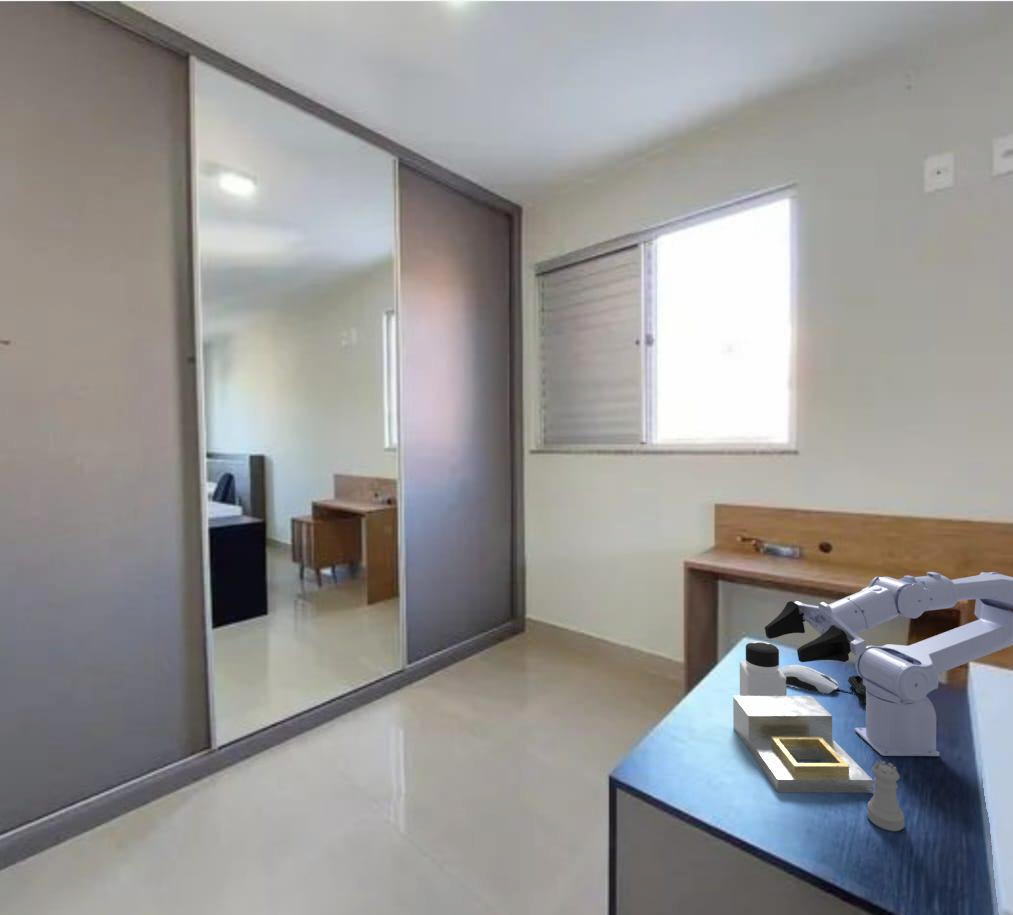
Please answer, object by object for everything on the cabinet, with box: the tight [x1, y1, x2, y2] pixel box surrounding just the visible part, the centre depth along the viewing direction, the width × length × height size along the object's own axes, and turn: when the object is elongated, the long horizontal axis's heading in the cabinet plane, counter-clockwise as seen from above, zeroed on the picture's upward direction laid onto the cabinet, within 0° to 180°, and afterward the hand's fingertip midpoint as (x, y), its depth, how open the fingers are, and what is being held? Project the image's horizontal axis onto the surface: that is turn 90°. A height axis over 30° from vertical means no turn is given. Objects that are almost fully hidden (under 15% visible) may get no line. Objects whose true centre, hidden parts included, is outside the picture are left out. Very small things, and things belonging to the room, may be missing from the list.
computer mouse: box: [780, 664, 866, 706], centre depth 115 cm, size 10×18×4 cm, turn 58°
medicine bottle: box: [739, 640, 787, 696], centre depth 108 cm, size 7×7×12 cm
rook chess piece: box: [865, 760, 906, 833], centre depth 75 cm, size 4×4×8 cm
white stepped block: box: [732, 695, 874, 794], centre depth 90 cm, size 14×18×6 cm
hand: (782, 644), depth 89 cm, fingers open, 7 cm apart
